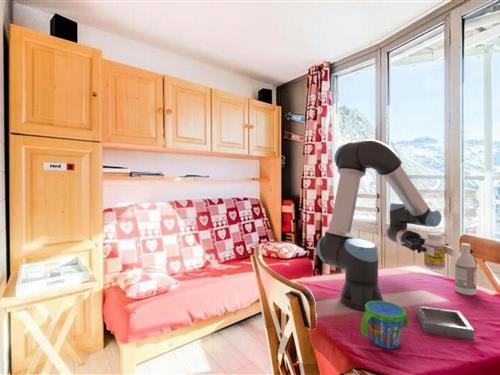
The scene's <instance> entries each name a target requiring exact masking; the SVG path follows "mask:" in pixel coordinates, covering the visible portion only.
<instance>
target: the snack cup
mask: <svg viewBox="0 0 500 375" xmlns="http://www.w3.org/2000/svg"><path fill="white" fill-rule="evenodd" d="M361 318H362V319H361V323H360V327H359V328H360V332H361V334H362V335H363V337H365V338H368V337H370V340H371V341H372V343H373V344H374V345H375V346H378V347H380V348H384V349H387V350H392V349H393V350H394V349H396V348H398V347H400V343H401V338H402V332H403V327H404V328H408V327H409V319H408V318H409V317H408V313H407V311H406V309H404V308H403V307H402V306H400V305H398V304H397V303H393V302H391V301H384V300H383V301H370V302H367V303H366V304H365V311H364V314H363V316H362V317H361ZM368 330H369V332H368Z"/></svg>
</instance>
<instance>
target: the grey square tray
mask: <svg viewBox="0 0 500 375" xmlns="http://www.w3.org/2000/svg"><path fill="white" fill-rule="evenodd" d="M416 316H417V318H418V320H419V323H420V325H421V327H422V329H423V333H425V334H432V335H439V336H444V337H450V338H457V339H464V340H469V341H470V340H471V341H475V329H474V328H473V327H472V325H471V324H470V323H469V321H468V320H467V319H466V317H465V316H464V314H462V312H461V310H453V309H452V310H451V309H446V308H445V309H444V308H439V307H436V308H435V307H429V306H423V305H421V306H420V305H416Z"/></svg>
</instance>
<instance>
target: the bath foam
mask: <svg viewBox="0 0 500 375" xmlns="http://www.w3.org/2000/svg"><path fill="white" fill-rule="evenodd" d="M460 245H461V246H460V251H461V252H460V253H459V254H458V256H456V259H455V261H454V262H455V264H454V290H455V292H456V293H458V294H462V295H465V296H475V295H476V294H477V262H476V259H475V258H474V256H473V255H472V254H471V244H470V243H464V242H462V243H461V244H460Z"/></svg>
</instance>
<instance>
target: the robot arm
mask: <svg viewBox="0 0 500 375" xmlns="http://www.w3.org/2000/svg"><path fill="white" fill-rule="evenodd" d="M334 163H335V166H336V167H337V172H338V174H339V179H338V183H337V184H338V185H337V191H336V193H335V194H336V195H335V200H334V204H333V210H332V215H331V219H330V223H329V224H330V225H329V228H328V229H326V230H325V232H324V235H323V236H321V237H320V239H318V241H317V244H316V254H317V255H318V257H319V259H320V260H321V261H322V262H323V263H326V264H327V265H329V266H333V267H335V268H338V269H340V270H343V271H344V272H345V273H344V274H345V276H344V277H345V279H344V284H343V286H342V289H341V292H340V302H341V303H342V304H343V305H344V304H345V305H344V306H345V307H348V308H350V309H352V308H353V310H356V311H362V312H366V311H365V304H366V303H367V302H370V301H384V297H383V295H382V292H381V289H380V286H379V250H378V246H377V245H376V244H375V243H374V242H371V241H369V240H366V239H363V238H362V239H360V238H354V236H353V235H352V233H351V230H352V226H353V221H354V215H355V210H356V205H357V204H356V203H357V199H358V194H359V189H360V183H361V179H362V178H363V177H364V176H365V175H366V172H367V169H372V170H375V171H376V172H377V173H378V175H379V176H383V178H384V179H385V181H386V182H387V183H388V185H389V186H390V187H391V189H392V190H393V191H394V193H395V194H396V196H397V197H398V198H399V200H400V201H401V202H398V201H397V202H391V203H390V204H389V226H388V227H387V229H386V231H385V235H386V237H387V238H388V240H390V241H391V242H393V243H396V244H399V245H400V246H403V247H404V248H407V249H408V250H411V251H412V252H415V251H417V253H418V254H421V253H423V254H424V253H426V254H428V255H431V256H434V248H431V247H428V246H426V245H424V242H425V240H427V239H428V238H427V239H426V238H424V237H422V236H421V234H419V232H415V231H412V230H409V229H408V225H415V226H421V227H422V226H423V227H427V228H429V227H430V228H432V227H433V228H436V227H439V225H440V223H441V222H442V215H441V212H440V211H439V210H437V209H434V208H432V209H431V208H430V207H429V206H428V204H427V202H426V200H424V198H423V197H422V195H421V193H420V192H419V191H418V189H417V187H416V186H415V184H414V183H413V181H412V180H411V178H410V177H409V176H408V173H407V172H406V171H405V170H404V167H403V166H402V163H403V162H402V160H401V158H400V157H399V156H398V154H397V153H396V152H395V151H394V150H393V149H392V148H391V147H390V146H388V145H387V144H385V143H384V142H382V141H379V140H377V139H367V140H366V139H365V140H361V141H356V142H348V143H345V144H342V145H340V146H339V147H338V148H337V150H336V151H335V154H334ZM444 243H445V255H449V256H451V257H454V256H455V255H456V254H455V248H454V247H451V246H449V243H446V242H444Z"/></svg>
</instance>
